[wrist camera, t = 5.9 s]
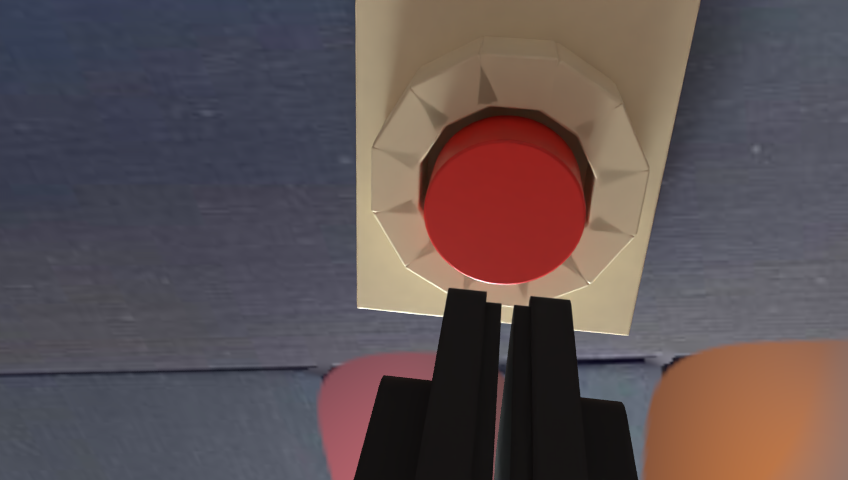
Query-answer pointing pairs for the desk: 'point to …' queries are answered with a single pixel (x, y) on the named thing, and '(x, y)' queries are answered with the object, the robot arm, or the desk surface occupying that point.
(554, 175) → the button
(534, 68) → the switch block
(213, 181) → the desk surface
